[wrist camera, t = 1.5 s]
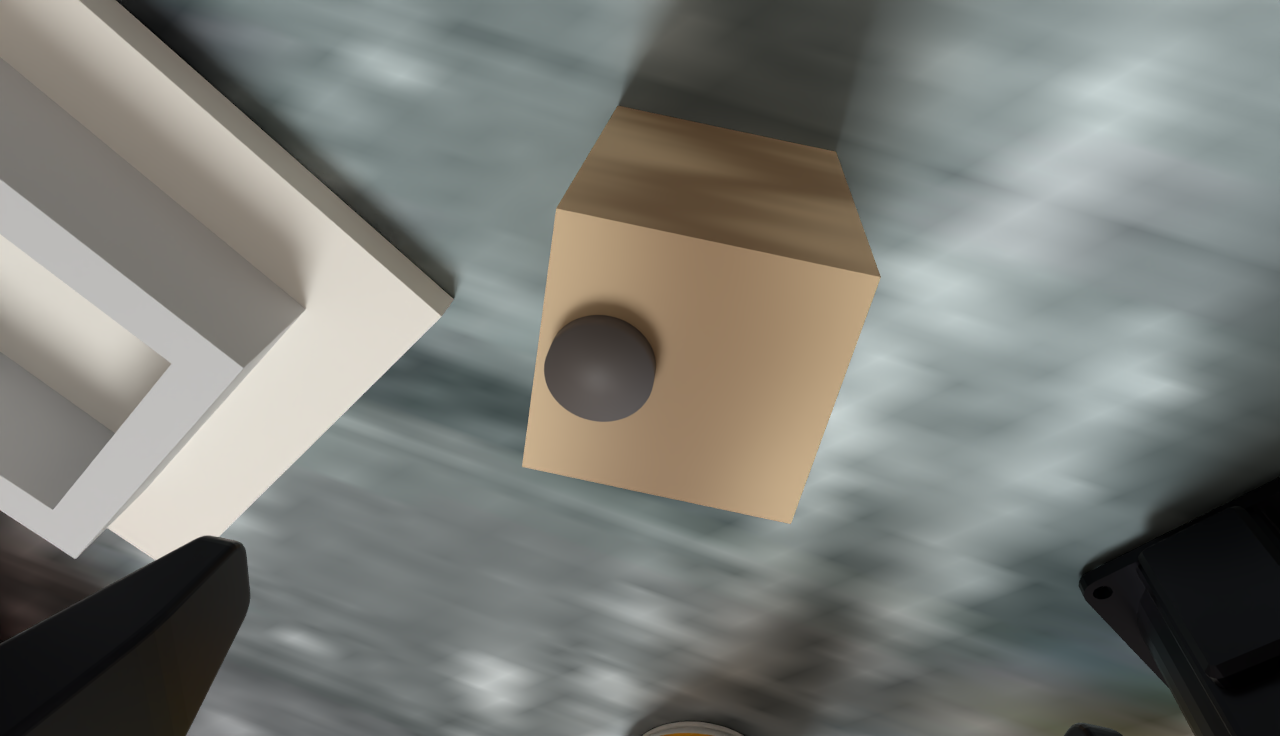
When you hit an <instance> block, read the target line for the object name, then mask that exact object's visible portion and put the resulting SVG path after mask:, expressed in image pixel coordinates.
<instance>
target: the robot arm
mask: <svg viewBox="0 0 1280 736" xmlns="http://www.w3.org/2000/svg"><path fill="white" fill-rule="evenodd" d="M1101 586H1104V587H1103V588H1100V589H1097V588H1098V587H1101ZM1079 588H1080V590H1081V592H1082V594H1083V596H1084V598H1085V600H1086V601H1087V602H1088V603H1089V604H1090V605H1091V606H1092V608H1093V609H1094V610H1095V611H1096V612H1097V613H1098V614H1099V615H1100V616H1101V617H1102V618H1103V619H1104V620H1105V621H1106V622H1107V623H1108V624H1109V625H1110V626H1111V628H1112V629H1113V630H1114V631H1115V632H1116V633H1117V634H1118V635H1119V636H1120V637H1121V638H1122V639H1123V640H1124V641H1125V642H1126V643H1127V644H1128V645H1129V646H1130V648H1131V649H1132V650H1133V651H1134V652H1135V653H1136V654H1137V655H1138V656H1139V657H1140V658H1141V659H1142V660H1143V661H1144V662H1145V663H1146V664H1147V665H1148V667H1149V668H1150V669H1151V670H1152V671H1153V672H1154V673H1155V674H1156V675H1157V676H1158V677H1159V678H1160V679H1161V680H1162V681H1163V682H1164V683H1165V684H1166V685H1167V687H1168V688H1169V689H1170V690H1171V692H1172V694H1173V696H1174V698H1175V700H1176V702H1177V703H1178V705H1179V707H1180V709H1181V711H1182V713H1183V715H1184V717H1185V718H1186V720H1187V722H1188V724H1189V726H1190V728H1191V730H1192V732H1193V733H1194V735H1195V736H1280V478H1278V479H1276V480H1273V481H1271V482H1269V483H1267V484H1265V485H1263V486H1261V487H1259V488H1257V489H1255V490H1253V491H1251V492H1249V493H1247V494H1245V495H1243V496H1241V497H1239V498H1237V499H1235V500H1233V501H1231V502H1229V503H1227V504H1225V505H1223V506H1221V507H1219V508H1217V509H1215V510H1213V511H1211V512H1209V513H1207V514H1205V515H1203V516H1201V517H1199V518H1197V519H1195V520H1193V521H1191V522H1189V523H1187V524H1185V525H1183V526H1181V527H1179V528H1177V529H1175V530H1172V531H1170V532H1168V533H1166V534H1164V535H1162V536H1160V537H1158V538H1156V539H1154V540H1152V541H1150V542H1148V543H1146V544H1144V545H1142V546H1140V547H1138V548H1136V549H1134V550H1132V551H1130V552H1128V553H1126V554H1124V555H1122V556H1120V557H1118V558H1116V559H1114V560H1112V561H1110V562H1108V563H1106V564H1104V565H1102V566H1100V567H1098V568H1096V569H1094V570H1092V571H1090V572H1088V573H1086V574H1085V575H1083V576H1082V578H1081V579H1080V581H1079ZM249 603H250V586H249V576H248V566H247V556H246V550H245V547H244V546H243V545H242V543H240V542H238V541H235V540H230V539H225V538H221V537H216V536H210V535H206V536H202V537H198V538H196V539H194V540H192V541H190V542H189V543H187V544H185V545H183V546H181V547H179V548H177V549H176V550H174V551H172V552H170V553H168V554H166V555H164V556H163V557H161V558H159V559H157V560H155V561H153V562H151V563H150V564H148V565H146V566H144V567H142V568H140V569H138V570H137V571H135V572H133V573H131V574H129V575H127V576H125V577H123V578H122V579H120V580H118V581H116V582H114V583H112V584H110V585H109V586H107V587H105V588H103V589H101V590H99V591H97V592H96V593H94V594H92V595H90V596H88V597H86V598H84V599H83V600H81V601H79V602H77V603H75V604H73V605H71V606H70V607H68V608H66V609H64V610H62V611H60V612H58V613H57V614H55V615H53V616H51V617H49V618H47V619H45V620H44V621H42V622H40V623H38V624H36V625H34V626H32V627H31V628H29V629H27V630H25V631H23V632H21V633H19V634H18V635H16V636H14V637H12V638H10V639H8V640H6V641H5V642H3V643H1V644H0V736H186V734H187V732H188V731H189V729H190V727H191V725H192V723H193V721H194V719H195V717H196V715H197V713H198V711H199V709H200V707H201V705H202V703H203V701H204V699H205V697H206V695H207V693H208V691H209V689H210V687H211V685H212V683H213V681H214V679H215V677H216V675H217V673H218V671H219V669H220V667H221V665H222V663H223V661H224V659H225V657H226V655H227V653H228V651H229V649H230V647H231V645H232V643H233V641H234V639H235V637H236V635H237V633H238V630H239V628H240V626H241V624H242V622H243V620H244V618H245V616H246V613H247V611H248V607H249ZM1064 736H1122V735H1121V734H1120V733H1118V732H1117V731H1115V730H1112V729H1109V728H1105V727H1100V726H1095V725H1091V724H1086V723H1077V724H1075V725H1072V726H1071V727H1070V728H1069V729H1068V731H1067V732H1066V733H1065V735H1064Z"/></svg>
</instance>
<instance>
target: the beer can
mask: <svg viewBox="0 0 1280 736" xmlns="http://www.w3.org/2000/svg"><path fill="white" fill-rule="evenodd" d="M642 736H743V735H741V734H740V733H738V732H736V731H733V730H731V729H729V728H726V727H723V726H719V725H716V724H711V723H705V722H692V721H688V722H675V723H670V724H665V725H662V726H659V727H657V728H654V729H652V730H650V731H648V732H647V733H645V734H644V735H642Z"/></svg>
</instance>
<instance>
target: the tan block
mask: <svg viewBox="0 0 1280 736" xmlns="http://www.w3.org/2000/svg"><path fill="white" fill-rule="evenodd" d="M880 278H881V277H880V274H879V271H878V268H877V265H876V263H875V260H874V257H873V254H872V251H871V249H870V246H869V243H868V240H867V237H866V235H865V232H864V229H863V226H862V223H861V221H860V218H859V215H858V212H857V209H856V207H855V204H854V201H853V198H852V195H851V193H850V190H849V187H848V184H847V181H846V178H845V176H844V173H843V170H842V167H841V164H840V162H839V159H838V156H837V153H836V152H835V151H830V150H825V149H820V148H816V147H811V146H806V145H802V144H797V143H792V142H787V141H783V140H778V139H773V138H768V137H764V136H759V135H754V134H750V133H745V132H740V131H735V130H731V129H726V128H721V127H716V126H712V125H707V124H702V123H698V122H693V121H688V120H683V119H679V118H674V117H669V116H664V115H660V114H655V113H650V112H646V111H641V110H636V109H631V108H627V107H622V106H617V108H616V109H615V111H614V113H613V115H612V116H611V118H610V120H609V121H608V123H607V125H606V126H605V128H604V130H603V131H602V133H601V135H600V136H599V138H598V140H597V141H596V143H595V145H594V146H593V148H592V150H591V151H590V153H589V155H588V156H587V158H586V160H585V161H584V163H583V165H582V166H581V168H580V170H579V171H578V173H577V175H576V176H575V178H574V180H573V181H572V183H571V185H570V186H569V188H568V190H567V191H566V193H565V195H564V196H563V198H562V200H561V201H560V203H559V205H558V206H557V208H556V215H555V222H554V230H553V237H552V245H551V253H550V260H549V268H548V275H547V283H546V290H545V298H544V305H543V313H542V321H541V328H540V336H539V343H538V351H537V358H536V366H535V374H534V381H533V389H532V396H531V404H530V411H529V419H528V427H527V434H526V442H525V449H524V457H523V464H522V467H526V468H531V469H535V470H540V471H545V472H549V473H554V474H559V475H563V476H568V477H573V478H578V479H582V480H587V481H592V482H596V483H601V484H606V485H610V486H615V487H620V488H624V489H629V490H634V491H639V492H643V493H648V494H653V495H657V496H662V497H667V498H671V499H676V500H681V501H685V502H690V503H695V504H699V505H704V506H709V507H714V508H718V509H723V510H728V511H732V512H737V513H742V514H746V515H751V516H756V517H760V518H765V519H770V520H775V521H779V522H784V523H789V524H791V522H792V519H793V517H794V514H795V511H796V508H797V506H798V503H799V500H800V497H801V495H802V492H803V489H804V486H805V484H806V481H807V478H808V475H809V473H810V470H811V467H812V464H813V462H814V459H815V456H816V453H817V451H818V448H819V445H820V442H821V440H822V437H823V434H824V431H825V429H826V426H827V423H828V420H829V418H830V415H831V412H832V409H833V407H834V404H835V401H836V399H837V396H838V393H839V390H840V388H841V385H842V382H843V379H844V377H845V374H846V371H847V368H848V366H849V363H850V360H851V357H852V355H853V352H854V349H855V346H856V344H857V341H858V338H859V335H860V333H861V330H862V327H863V324H864V322H865V319H866V316H867V313H868V311H869V308H870V305H871V302H872V300H873V297H874V294H875V291H876V289H877V286H878V283H879V280H880Z"/></svg>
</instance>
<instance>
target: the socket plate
mask: <svg viewBox="0 0 1280 736" xmlns="http://www.w3.org/2000/svg"><path fill="white" fill-rule="evenodd" d="M453 300H454V299H453V298H452V297H451V296H450V295H448V294H447V293H446V292H445V291H444V290H443V289H442V288H440V287H439V286H438V285H437V284H436V283H435V282H434V281H433V280H431V279H430V278H429V277H428V276H427V275H426V274H425V273H424V272H422V271H421V270H420V269H419V268H418V267H417V266H416V265H414V264H413V263H412V262H411V261H410V260H409V259H408V258H407V257H405V256H404V255H403V254H402V253H401V252H400V251H399V250H398V249H396V248H395V247H394V246H393V245H392V244H391V243H390V242H388V241H387V240H386V239H385V238H384V237H383V236H382V235H381V234H379V233H378V232H377V231H376V230H375V229H374V228H373V227H372V226H370V225H369V224H368V223H367V222H366V221H365V220H364V219H362V218H361V217H360V216H359V215H358V214H357V213H356V212H355V211H353V210H352V209H351V208H350V207H349V206H348V205H347V204H346V203H344V202H343V201H342V200H341V199H340V198H339V197H338V196H337V195H335V194H334V193H333V192H332V191H331V190H330V189H329V188H327V187H326V186H325V185H324V184H323V183H322V182H321V181H320V180H318V179H317V178H316V177H315V176H314V175H313V174H312V173H311V172H309V171H308V170H307V169H306V168H305V167H304V166H303V165H301V164H300V163H299V162H298V161H297V160H296V159H295V158H294V157H292V156H291V155H290V154H289V153H288V152H287V151H286V150H285V149H283V148H282V147H281V146H280V145H279V144H278V143H277V142H275V141H274V140H273V139H272V138H271V137H270V136H269V135H268V134H266V133H265V132H264V131H263V130H262V129H261V128H260V127H259V126H257V125H256V124H255V123H254V122H253V121H252V120H251V119H249V118H248V117H247V116H246V115H245V114H244V113H243V112H242V111H240V110H239V109H238V108H237V107H236V106H235V105H234V104H233V103H231V102H230V101H229V100H228V99H227V98H226V97H225V96H223V95H222V94H221V93H220V92H219V91H218V90H217V89H216V88H214V87H213V86H212V85H211V84H210V83H209V82H208V81H207V80H205V79H204V78H203V77H202V76H201V75H200V74H199V73H197V72H196V71H195V70H194V69H193V68H192V67H191V66H190V65H188V64H187V63H186V62H185V61H184V60H183V59H182V58H181V57H179V56H178V55H177V54H176V53H175V52H174V51H173V50H171V49H170V48H169V47H168V46H167V45H166V44H165V43H164V42H162V41H161V40H160V39H159V38H158V37H157V36H156V35H155V34H153V33H152V32H151V31H150V30H149V29H148V28H147V27H145V26H144V25H143V24H142V23H141V22H140V21H139V20H138V19H136V18H135V17H134V16H133V15H132V14H131V13H130V12H129V11H127V10H126V9H125V8H124V7H123V6H122V5H121V4H119V3H118V2H117V1H116V0H0V510H1V511H2V512H4V513H5V514H7V515H8V516H10V517H11V518H13V519H14V520H16V521H17V522H19V523H21V524H22V525H24V526H25V527H27V528H28V529H30V530H31V531H33V532H34V533H36V534H37V535H39V536H41V537H42V538H44V539H45V540H47V541H48V542H50V543H51V544H53V545H54V546H56V547H57V548H59V549H60V550H62V551H64V552H65V553H67V554H68V555H70V556H71V557H73V558H74V559H76V558H77V557H78V556H79V555H80V554H81V553H82V552H83V551H84V550H85V549H86V548H87V547H88V546H89V545H90V544H91V543H92V542H93V541H94V540H95V539H96V538H97V537H98V536H99V535H100V534H101V533H102V532H103V531H104V530H105V529H106V528H108V529H110V530H111V531H113V532H114V533H116V534H117V535H119V536H120V537H122V538H123V539H125V540H126V541H128V542H129V543H131V544H132V545H134V546H135V547H137V548H138V549H140V550H141V551H143V552H144V553H146V554H147V555H148V556H150V557H151V558H153V559H154V560H157V559H159V558H161V557H163V556H164V555H166V554H168V553H170V552H172V551H174V550H176V549H177V548H179V547H181V546H183V545H185V544H187V543H189V542H190V541H192V540H194V539H196V538H198V537H202V536H206V535H210V536H216V537H219V536H220V535H221V534H222V533H223V532H224V531H225V530H226V529H227V528H228V527H229V526H230V525H231V524H232V523H233V522H234V521H235V520H236V519H237V518H238V517H239V516H240V515H241V514H242V513H243V512H244V511H245V510H246V509H247V508H248V507H249V506H250V505H251V504H252V503H253V502H254V501H255V500H256V499H257V498H258V497H259V496H260V495H262V494H263V493H264V492H265V491H266V490H267V489H268V488H269V487H270V486H271V485H272V484H273V483H274V482H275V481H276V480H277V479H278V478H279V477H280V476H281V475H282V474H283V473H284V472H285V471H286V470H287V469H288V468H289V467H290V466H291V465H292V464H293V463H294V462H295V461H296V460H297V459H298V458H299V457H300V456H301V455H302V454H303V453H304V452H305V451H306V450H307V449H308V448H309V447H310V446H311V445H312V444H313V443H314V442H315V441H316V440H317V439H318V438H319V437H320V436H321V435H322V434H323V433H324V432H325V431H326V430H327V429H328V428H329V427H330V426H331V425H332V424H333V423H334V422H335V421H336V420H337V419H338V418H339V417H340V416H341V415H342V414H343V413H344V412H346V411H347V410H348V409H349V408H350V407H351V406H352V405H353V404H354V403H355V402H356V401H357V400H358V399H359V398H360V397H361V396H362V395H363V394H364V393H365V392H366V391H367V390H368V389H369V388H370V387H371V386H372V385H373V384H374V383H375V382H376V381H377V380H378V379H379V378H380V377H381V376H382V375H383V374H384V373H385V372H386V371H387V370H388V369H389V368H390V367H391V366H392V365H393V364H394V363H395V362H396V361H397V360H398V359H399V358H400V357H401V356H402V355H403V354H404V353H405V352H406V351H407V350H408V349H409V348H410V347H411V346H412V345H413V344H414V343H415V342H416V341H417V340H418V339H419V338H420V337H421V336H422V335H423V334H424V333H425V332H426V331H427V330H428V329H430V328H431V327H432V326H433V325H434V324H435V323H436V322H437V321H438V320H439V319H440V318H441V317H442V315H443V314H444V313H445V311H446V310H447V308H448V307H449V306H450V304H451V303H452V301H453Z"/></svg>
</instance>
